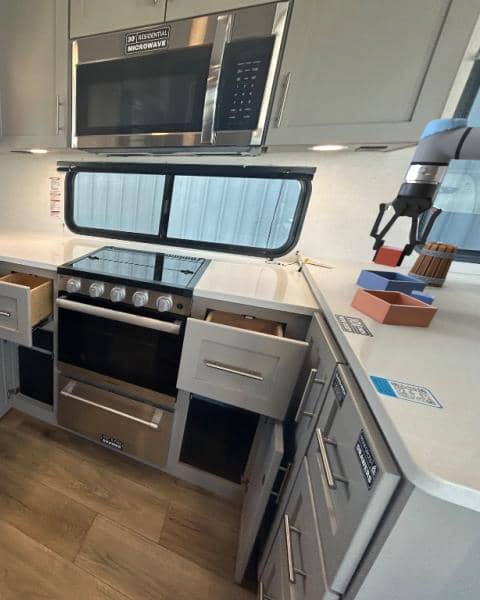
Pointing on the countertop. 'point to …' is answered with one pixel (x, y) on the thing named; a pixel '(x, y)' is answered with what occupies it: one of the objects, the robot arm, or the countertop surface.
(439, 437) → the countertop surface
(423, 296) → the blue block
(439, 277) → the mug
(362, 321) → the countertop surface
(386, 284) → the blue bin
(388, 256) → the red block
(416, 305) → the terracotta bin
